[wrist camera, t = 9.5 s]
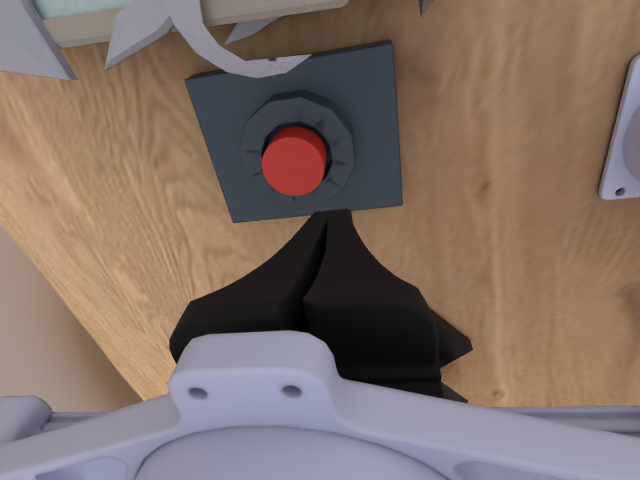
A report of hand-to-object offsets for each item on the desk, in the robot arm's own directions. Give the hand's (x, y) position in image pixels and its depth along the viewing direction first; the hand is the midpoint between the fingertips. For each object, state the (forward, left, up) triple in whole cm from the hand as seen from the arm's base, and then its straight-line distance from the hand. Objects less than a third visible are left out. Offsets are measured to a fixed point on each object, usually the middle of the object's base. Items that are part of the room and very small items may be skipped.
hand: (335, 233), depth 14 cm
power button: (+3, 0, -8) cm, 8 cm away
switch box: (+3, 0, -10) cm, 11 cm away
